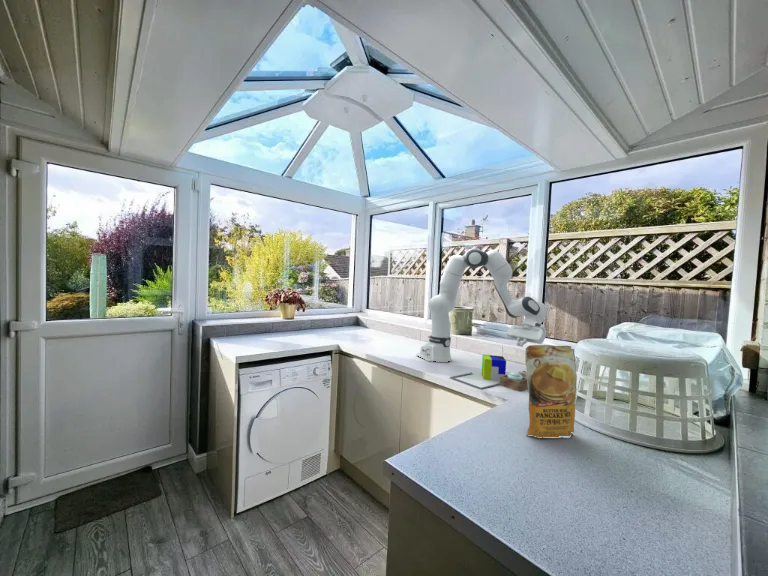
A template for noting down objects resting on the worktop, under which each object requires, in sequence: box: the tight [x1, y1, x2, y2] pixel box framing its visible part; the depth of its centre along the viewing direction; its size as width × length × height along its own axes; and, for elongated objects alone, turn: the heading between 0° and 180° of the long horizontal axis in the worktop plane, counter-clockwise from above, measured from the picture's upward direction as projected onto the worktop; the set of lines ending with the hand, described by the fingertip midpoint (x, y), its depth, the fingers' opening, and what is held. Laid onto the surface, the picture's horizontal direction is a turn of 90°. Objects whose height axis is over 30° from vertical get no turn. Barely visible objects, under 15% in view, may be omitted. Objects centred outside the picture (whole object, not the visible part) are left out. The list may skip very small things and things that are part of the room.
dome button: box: [507, 371, 523, 381], centre depth 148 cm, size 6×6×3 cm
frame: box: [449, 372, 501, 391], centre depth 154 cm, size 19×17×1 cm
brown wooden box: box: [498, 370, 528, 392], centre depth 150 cm, size 10×16×6 cm, turn 126°
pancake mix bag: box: [525, 344, 578, 438], centre depth 101 cm, size 7×19×28 cm, turn 98°
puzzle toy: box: [481, 354, 507, 382], centre depth 162 cm, size 10×10×10 cm
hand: (519, 345), depth 174 cm, fingers closed
